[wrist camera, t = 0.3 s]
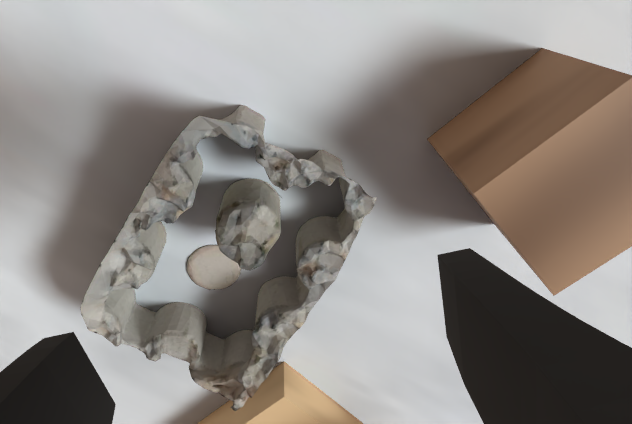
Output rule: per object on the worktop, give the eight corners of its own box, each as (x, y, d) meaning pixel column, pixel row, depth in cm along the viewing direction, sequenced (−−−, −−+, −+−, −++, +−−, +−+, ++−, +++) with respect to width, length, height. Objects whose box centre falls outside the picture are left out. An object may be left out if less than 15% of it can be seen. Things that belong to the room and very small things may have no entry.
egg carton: (243, 350, 23) (236, 424, 19) (91, 282, 20) (50, 351, 17) (381, 178, 19) (404, 229, 15) (214, 71, 17) (194, 100, 13)
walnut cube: (601, 147, 19) (700, 202, 14) (493, 223, 20) (554, 295, 16) (541, 47, 17) (634, 76, 12) (426, 138, 18) (473, 193, 14)
